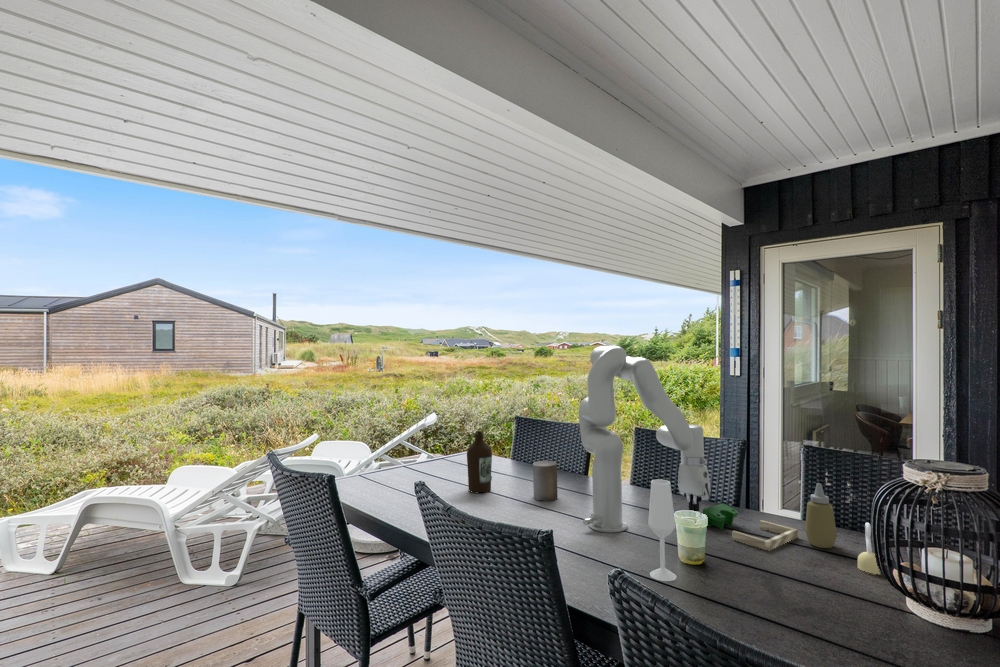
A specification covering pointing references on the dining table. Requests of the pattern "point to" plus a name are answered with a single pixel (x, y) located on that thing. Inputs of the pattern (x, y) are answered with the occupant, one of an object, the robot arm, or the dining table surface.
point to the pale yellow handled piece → (868, 555)
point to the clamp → (720, 515)
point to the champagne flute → (661, 522)
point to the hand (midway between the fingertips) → (694, 514)
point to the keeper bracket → (784, 537)
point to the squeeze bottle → (820, 520)
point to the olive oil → (479, 464)
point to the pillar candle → (545, 480)
